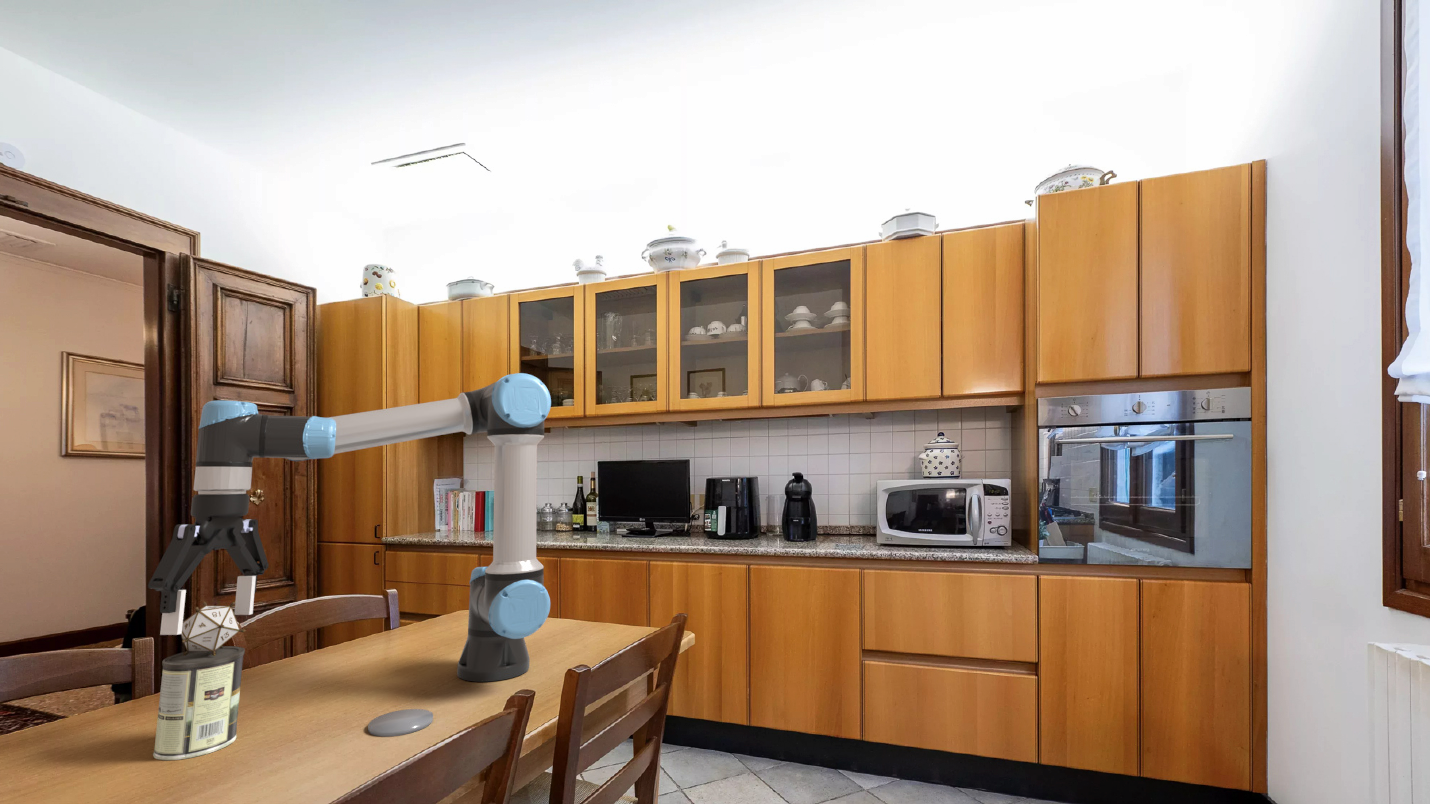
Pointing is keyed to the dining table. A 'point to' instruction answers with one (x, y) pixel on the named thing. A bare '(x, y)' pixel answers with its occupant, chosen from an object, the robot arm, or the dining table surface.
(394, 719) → the slate coaster
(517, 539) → the robot arm
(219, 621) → the game die
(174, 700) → the coffee can
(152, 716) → the dining table surface
